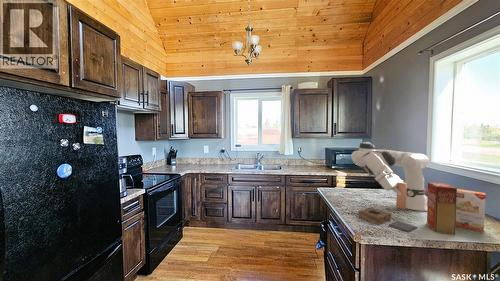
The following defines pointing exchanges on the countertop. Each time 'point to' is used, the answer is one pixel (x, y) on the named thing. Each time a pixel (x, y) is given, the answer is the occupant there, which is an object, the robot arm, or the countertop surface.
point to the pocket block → (375, 215)
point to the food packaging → (441, 207)
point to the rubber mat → (402, 226)
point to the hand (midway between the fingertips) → (402, 194)
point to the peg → (402, 198)
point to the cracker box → (470, 209)
